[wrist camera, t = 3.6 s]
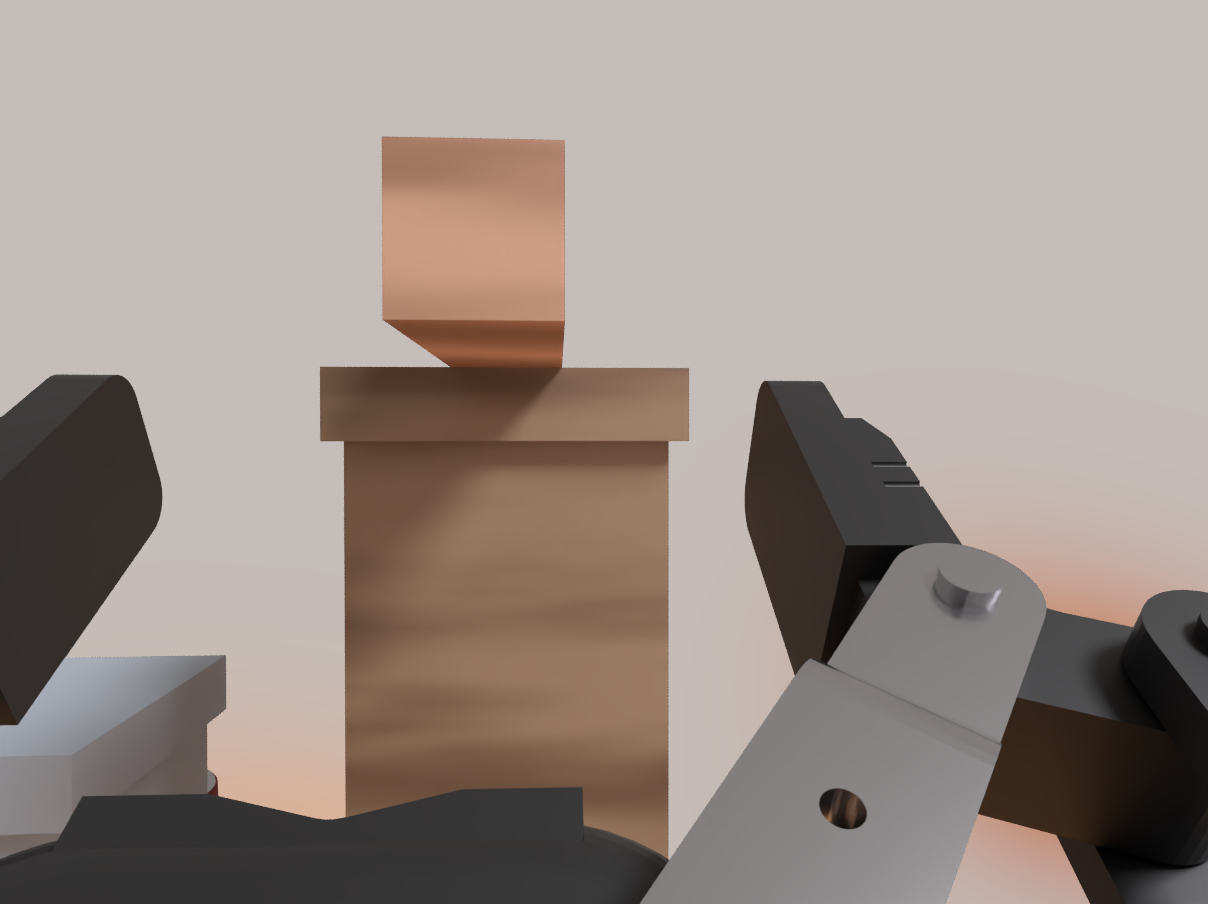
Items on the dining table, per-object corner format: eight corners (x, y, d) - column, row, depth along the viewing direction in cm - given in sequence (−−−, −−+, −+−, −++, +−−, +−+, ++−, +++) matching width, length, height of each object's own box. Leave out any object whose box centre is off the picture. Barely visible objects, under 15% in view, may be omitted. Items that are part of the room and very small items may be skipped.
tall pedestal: (688, 1509, 24) (688, 368, 23) (325, 1535, 23) (320, 366, 23) (649, 1192, 34) (649, 390, 33) (395, 1205, 33) (392, 389, 33)
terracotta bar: (565, 320, 14) (564, 139, 14) (383, 319, 14) (381, 136, 14) (560, 394, 36) (560, 324, 36) (489, 394, 36) (489, 323, 36)
